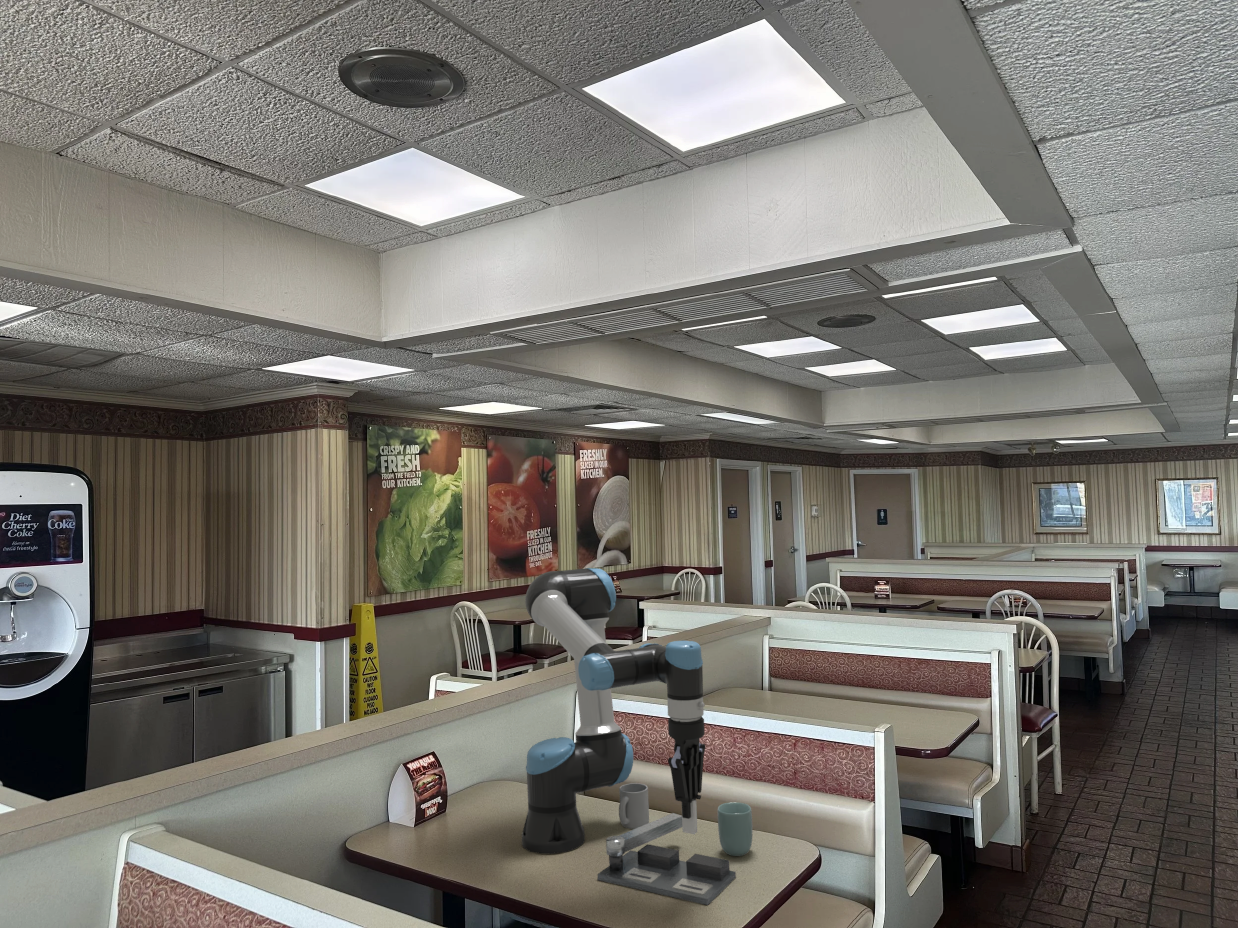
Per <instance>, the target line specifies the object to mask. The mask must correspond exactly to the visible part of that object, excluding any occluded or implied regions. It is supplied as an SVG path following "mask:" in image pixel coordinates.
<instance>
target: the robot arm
mask: <svg viewBox="0 0 1238 928" xmlns="http://www.w3.org/2000/svg"><path fill="white" fill-rule="evenodd" d="M524 599H525V600H524V604H525V609H526V611H527V614H528V616H529V617H530V618H531V620H532V621H534V623H535V624H537V625H538V626H540V627H543V628H544V627H545V629H546V630H547V631H548V632H549V633H550V634H551V636H553V637H554V638H555V640H556V641H558V643H560V645H561V647H563V649H564V650H566V651H567V652H568V654H570V656H571V657H572V658H573V661H574V664H573V665H574V671H575V672H574V673H575V674H574V675H575V683H576V691H577V702H578V712H579V713H578V714H579V721H580V724H579V725H580V726H579V727H578V729H577V730H576V732H575V742H574V740H573V739H572V738H570V737H567V736H566V737H563V736H561V737H557V738H556V737H553V738H552V737H551V738H546V739H544V740H541V741H538V742H536V743H535V744H533V745H532V746H531V747H530V748H529V749H528V751H527V753H526V766H525V771H526V782H527V783H526V785H527V789H526V790H527V804H528V805H527V809H528V810H527V814H526V818H525V821H524V825H523V827H522V828H523V829H522V832H521V846H522V847H523V848H524V849H525V850H526V851H529V852H531V853H535V854H544V855H546V854H547V855H551V854H552V855H553V854H562V853H566V852H570V851H572V850H575V849H578V848H579V847H580V846H582V845H583V844H584V843H585V839H586V837H585V828H584V826H583V824H582V820H581V817H580V812H579V810H578V808H577V794H578V793H583V792H588V791H591V790H596V789H600V788H605V787H613V786H614V785H617V784H621V783H624V782H625V781H626V780H627V779H628V778H629V777H630V774H631V772H632V770H633V765H634V749H633V745H632V744H631V739H630V738H629V736H628V735H626V734H624V733H622V727H621V726H620V725H619V724H617V723H616V722H615V715H614V705H613V698H612V697H613V696H612V689H615V688H621V687H628V686H634V685H641V684H646V683H647V684H648V683H652V682H653V683H654V682H659V683H663V684H665V685H666V692H667V693H666V694H667V700H666V701H667V716H668V717H669V718H668V720H667V724H668V725H667V727H668V729H667V731H668V736H669V737H670V738H672V739H673V740H674V744H673V745H674V747H673V753H674V754H673V757H668V759H667V763H668V766H669V768H670V772H671V779H672V785H673V791H674V799H675V801H677V802H681V816H682V833H685V834H689V835H690V834H691V835H695V834H696V833H698V815H697V813H698V812H697V811H698V810H697V809H698V808H697V805H698V804H697V800H701V799H702V794H701V793H702V787H703V771H704V759H705V758H704V756H705V751H706V744H705V743H700V739H702V738H703V737H704V736H705V718H703V716H704V714H705V711H704V708H705V705H706V704H705V702H704V680H703V679H704V676H703V675H704V674H703V671H704V670H703V669H704V668H703V664H704V661H703V658H702V656H703V655H702V647H701V645H700V644H699V643H698V642H696V641H694V640H674V641H670V642H668V643H667V644H666V645H662V644H660V643H655V642H654V643H650V642H649V643H644V644H641V645H640V646H639V647H637V648H630V649H620V650H614V649H613V648H612V647H611V646H610V645H609V644H608V643H607V641H606V632H605V631H606V630H605V629H606V628H605V626H606V624H607V622H608V621H609V620H610V612H611V611H613V610H614V608H615V607H616V602H617V593H616V588H615V585H614V583H613V580H612V578H611V577H610V575H609V574H608V573H607V572H606V571H605V570H603V569H601V568H590V567H588V568H587V567H585V568H578V569H566V570H550V571H547V572H544V573H542V574H540V575H538V576H537V577H536V578H535V579H533V581H532V582H531V583H530V584H529V586H528V588H527V591H526V594H525V598H524ZM700 794H701V795H700Z"/></svg>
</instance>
